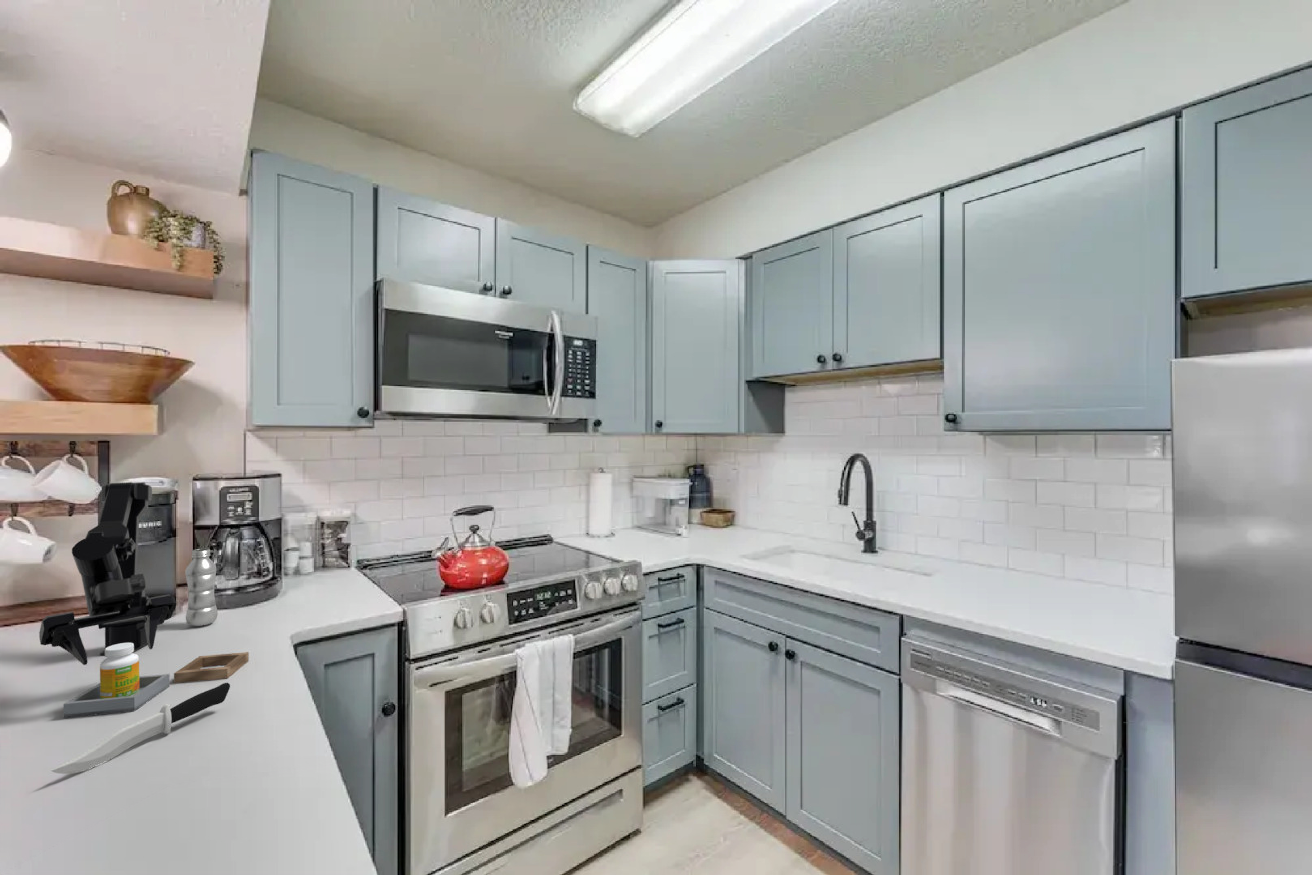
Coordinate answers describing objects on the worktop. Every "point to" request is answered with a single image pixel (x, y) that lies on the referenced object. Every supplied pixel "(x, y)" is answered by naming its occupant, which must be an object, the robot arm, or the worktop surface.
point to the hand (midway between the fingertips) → (119, 655)
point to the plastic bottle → (201, 589)
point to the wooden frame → (197, 674)
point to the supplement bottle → (119, 672)
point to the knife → (144, 730)
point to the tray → (116, 698)
